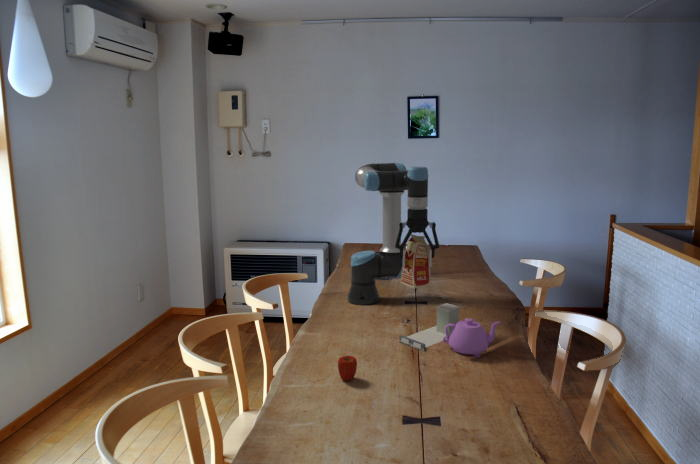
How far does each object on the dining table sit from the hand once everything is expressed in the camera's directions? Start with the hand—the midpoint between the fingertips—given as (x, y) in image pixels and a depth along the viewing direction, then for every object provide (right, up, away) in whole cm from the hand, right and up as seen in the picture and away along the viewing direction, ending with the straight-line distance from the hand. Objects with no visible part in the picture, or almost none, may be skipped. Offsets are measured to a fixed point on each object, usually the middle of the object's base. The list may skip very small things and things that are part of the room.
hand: (416, 266), depth 206 cm
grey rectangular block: (+13, -26, +6) cm, 30 cm away
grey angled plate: (+6, -28, +1) cm, 29 cm away
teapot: (+18, -31, -12) cm, 37 cm away
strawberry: (-26, -35, -32) cm, 54 cm away
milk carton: (0, -7, +3) cm, 8 cm away
